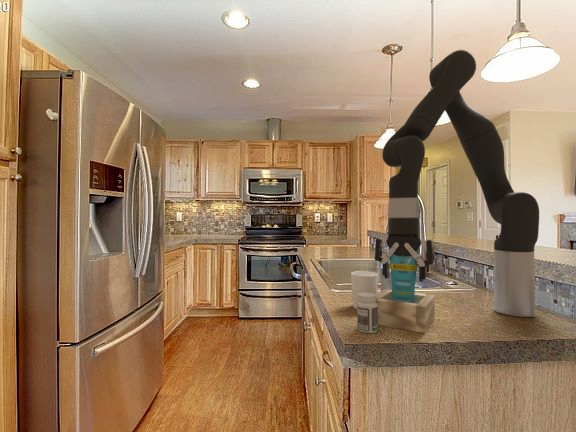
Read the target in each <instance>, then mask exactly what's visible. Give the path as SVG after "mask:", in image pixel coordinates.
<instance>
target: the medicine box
mask: <svg viewBox="0 0 576 432" xmlns="http://www.w3.org/2000/svg"><path fill="white" fill-rule="evenodd" d="M385 289H387V290H392V281H391V268H390V277H389V278H388V279H387V278H385V276H383V274H382V268H380V292H382V291H383V290H385Z"/></svg>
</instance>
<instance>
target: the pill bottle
mask: <svg viewBox="0 0 576 432" xmlns="http://www.w3.org/2000/svg"><path fill="white" fill-rule="evenodd" d="M375 301H376V295H375V294H373V293H359V302H358V303H357V309H356V311H357V313H356V314H357V320H356V321H357V322H356V323H357V330H358V331H359V332H360V333H364V334H375V333H377V332H378V331H379V325H378V305H377V303H376V302H375Z"/></svg>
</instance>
